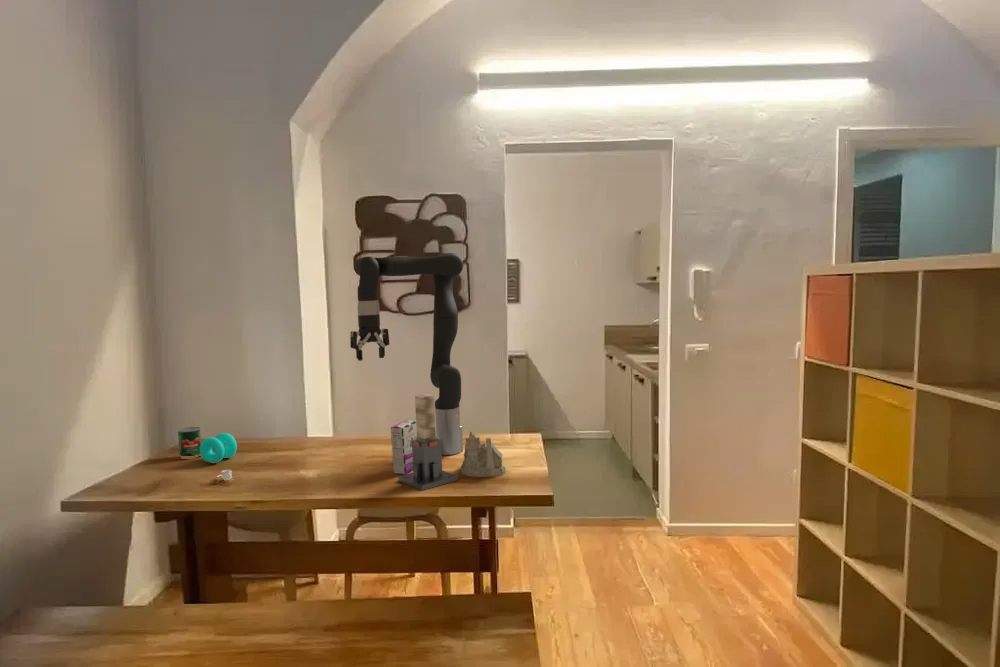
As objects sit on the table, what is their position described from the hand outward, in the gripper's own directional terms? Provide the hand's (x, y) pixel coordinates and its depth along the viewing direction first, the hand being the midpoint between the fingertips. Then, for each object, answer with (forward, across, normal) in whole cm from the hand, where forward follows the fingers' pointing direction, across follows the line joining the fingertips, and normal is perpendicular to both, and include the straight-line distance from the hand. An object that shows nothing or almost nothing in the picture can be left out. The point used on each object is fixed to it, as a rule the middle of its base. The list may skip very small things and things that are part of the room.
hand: (370, 359), depth 232 cm
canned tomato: (+38, +45, -64) cm, 87 cm away
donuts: (+38, +39, -49) cm, 73 cm away
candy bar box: (+38, -4, +14) cm, 41 cm away
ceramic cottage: (+38, -22, +34) cm, 56 cm away
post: (+30, -2, +30) cm, 43 cm away
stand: (+38, -2, +30) cm, 49 cm away
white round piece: (+39, +43, -21) cm, 62 cm away
